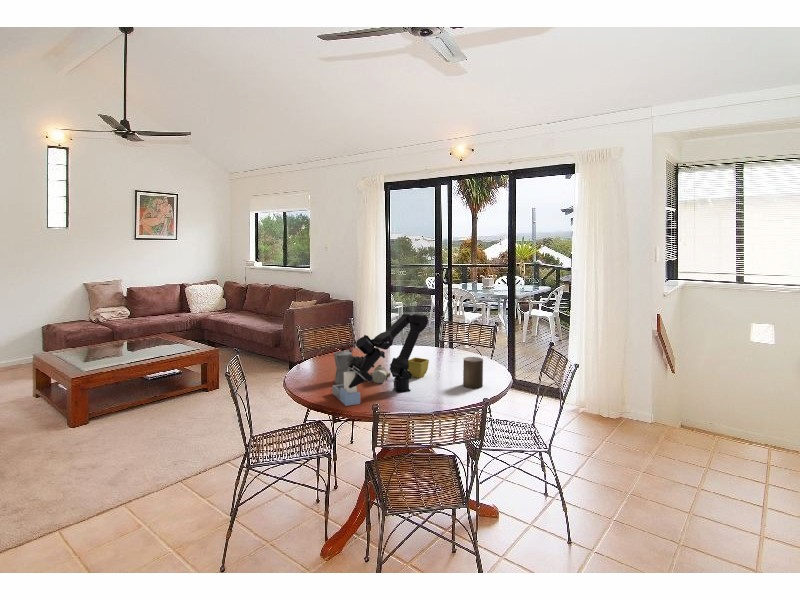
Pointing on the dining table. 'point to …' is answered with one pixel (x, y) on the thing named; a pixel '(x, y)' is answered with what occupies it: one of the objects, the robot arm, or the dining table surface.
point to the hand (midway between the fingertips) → (347, 386)
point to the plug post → (349, 382)
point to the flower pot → (418, 367)
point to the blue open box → (337, 390)
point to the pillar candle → (473, 372)
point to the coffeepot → (341, 364)
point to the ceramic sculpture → (380, 374)
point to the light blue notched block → (349, 397)
